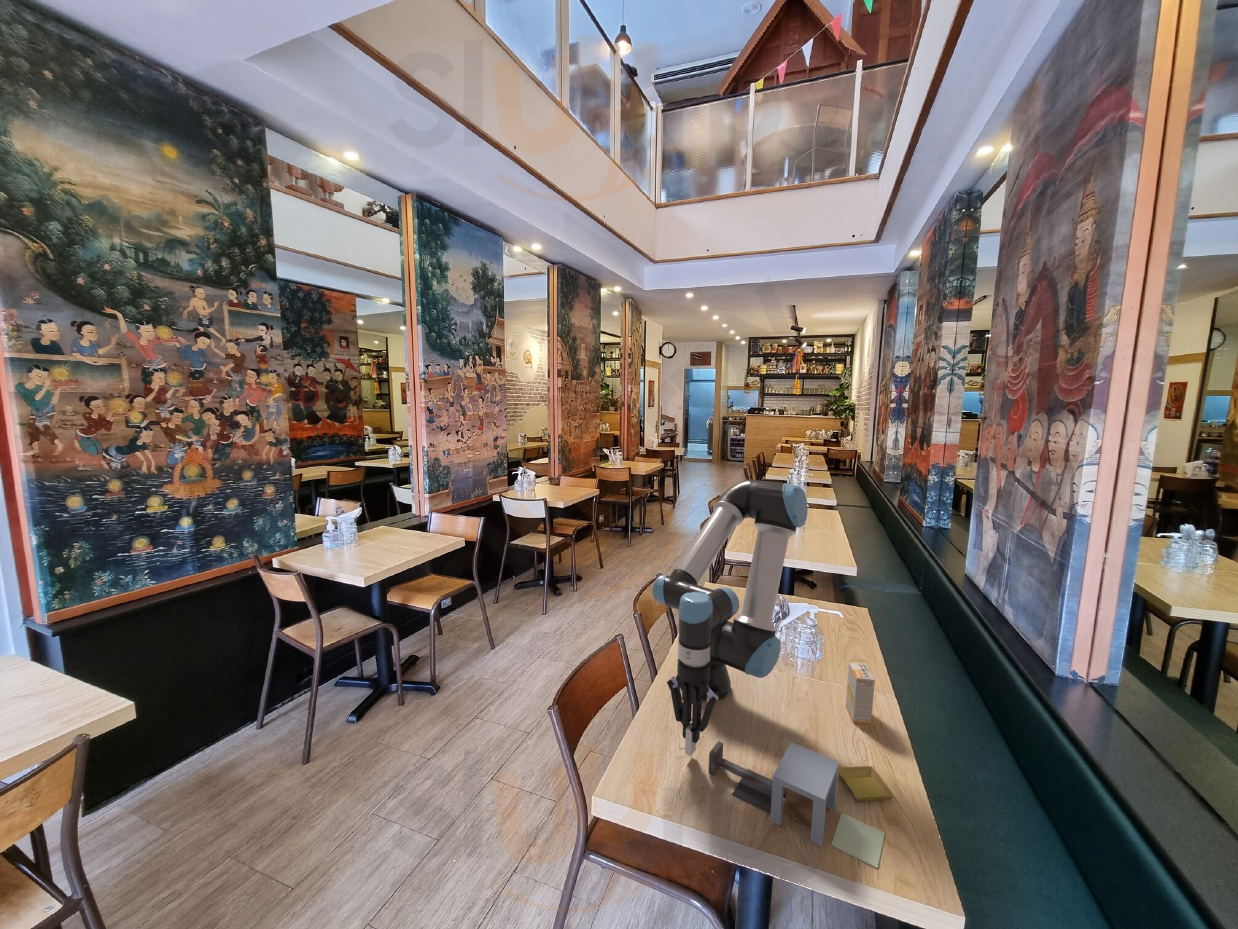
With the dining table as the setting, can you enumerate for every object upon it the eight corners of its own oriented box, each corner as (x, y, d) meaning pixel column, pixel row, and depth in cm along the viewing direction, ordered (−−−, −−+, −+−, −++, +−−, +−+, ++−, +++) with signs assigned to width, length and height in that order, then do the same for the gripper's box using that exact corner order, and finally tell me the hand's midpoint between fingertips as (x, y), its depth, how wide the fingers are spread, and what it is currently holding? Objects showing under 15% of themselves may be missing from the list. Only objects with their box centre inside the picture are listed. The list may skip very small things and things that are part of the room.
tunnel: (770, 820, 100) (772, 775, 99) (788, 783, 110) (791, 742, 108) (821, 847, 94) (824, 800, 93) (835, 805, 104) (839, 762, 102)
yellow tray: (894, 804, 105) (895, 795, 104) (855, 806, 104) (856, 797, 104) (871, 774, 113) (872, 765, 113) (835, 775, 113) (836, 767, 112)
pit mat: (732, 794, 106) (732, 793, 106) (747, 769, 114) (747, 768, 114) (768, 813, 102) (768, 812, 102) (781, 785, 109) (781, 784, 109)
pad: (831, 845, 94) (831, 844, 94) (841, 814, 102) (841, 813, 102) (877, 869, 90) (877, 867, 90) (884, 834, 97) (884, 833, 97)
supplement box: (872, 726, 129) (876, 680, 128) (852, 723, 130) (856, 678, 129) (863, 707, 137) (866, 663, 136) (844, 704, 138) (848, 661, 137)
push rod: (707, 775, 111) (708, 751, 111) (718, 759, 116) (719, 736, 115) (814, 828, 98) (816, 802, 97) (822, 808, 102) (824, 783, 102)
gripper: (661, 657, 115) (659, 749, 118) (712, 676, 107) (708, 773, 110) (677, 644, 121) (674, 732, 124) (726, 661, 113) (722, 754, 116)
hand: (690, 751), depth 117 cm, fingers closed
